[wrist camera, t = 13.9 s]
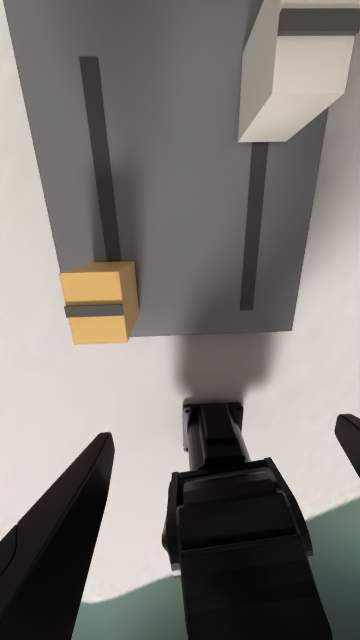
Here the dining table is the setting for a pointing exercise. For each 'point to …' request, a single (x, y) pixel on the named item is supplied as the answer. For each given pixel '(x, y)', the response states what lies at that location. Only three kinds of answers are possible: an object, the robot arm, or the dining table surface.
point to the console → (165, 159)
